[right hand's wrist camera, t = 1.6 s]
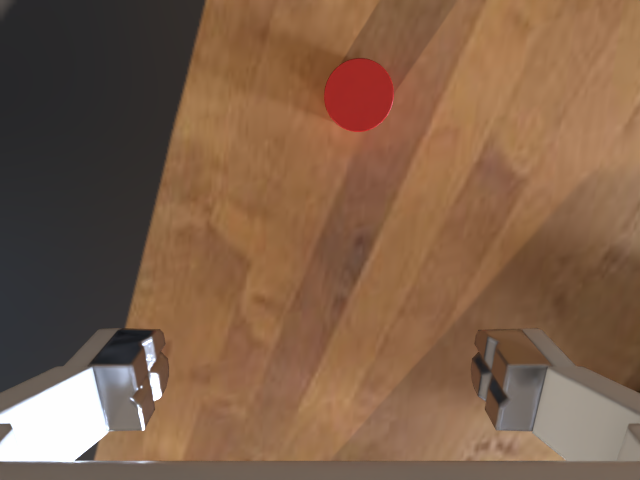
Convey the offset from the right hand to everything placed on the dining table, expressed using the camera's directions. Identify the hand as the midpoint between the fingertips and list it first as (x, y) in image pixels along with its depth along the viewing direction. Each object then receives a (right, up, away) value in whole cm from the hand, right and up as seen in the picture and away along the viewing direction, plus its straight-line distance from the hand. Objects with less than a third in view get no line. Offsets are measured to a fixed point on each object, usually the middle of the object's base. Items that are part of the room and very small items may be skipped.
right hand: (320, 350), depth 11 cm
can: (+3, +15, +23) cm, 28 cm away
